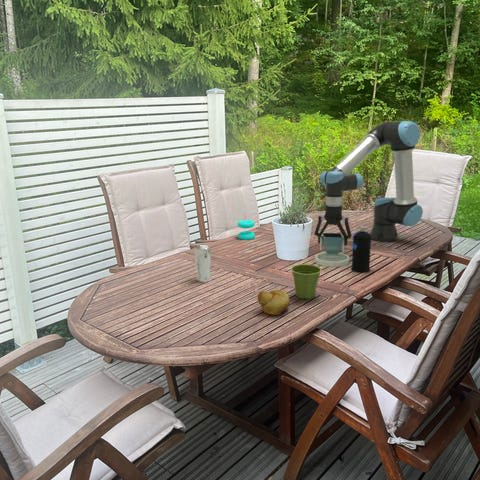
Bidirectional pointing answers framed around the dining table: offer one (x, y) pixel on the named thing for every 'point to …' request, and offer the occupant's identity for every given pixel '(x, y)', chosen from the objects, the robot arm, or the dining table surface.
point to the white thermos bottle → (203, 262)
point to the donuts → (246, 224)
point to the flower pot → (332, 242)
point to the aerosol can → (361, 251)
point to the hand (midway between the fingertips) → (332, 250)
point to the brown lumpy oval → (273, 301)
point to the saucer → (332, 259)
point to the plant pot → (305, 280)
